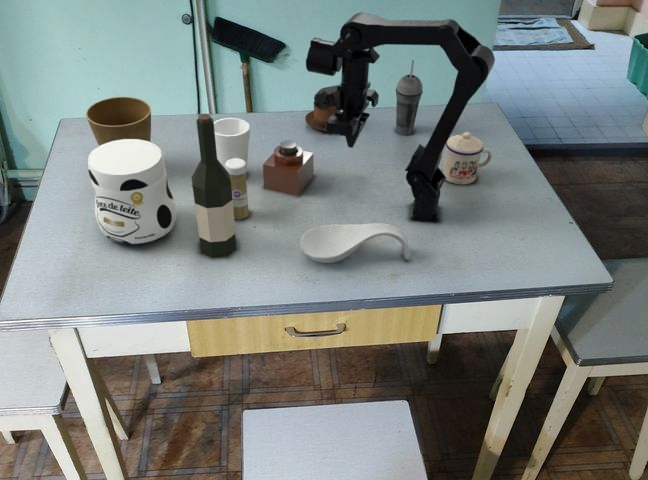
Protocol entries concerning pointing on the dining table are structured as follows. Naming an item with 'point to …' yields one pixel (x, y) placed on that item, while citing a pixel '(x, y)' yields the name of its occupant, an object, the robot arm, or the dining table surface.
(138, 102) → the plant pot
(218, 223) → the wine bottle
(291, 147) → the dark grey short cylinder
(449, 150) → the teacup with lid
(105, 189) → the milk container
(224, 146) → the foam cup
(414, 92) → the beverage cup
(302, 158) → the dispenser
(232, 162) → the sprinkles bottle
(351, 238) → the spoon rest
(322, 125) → the cup and saucer
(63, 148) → the dining table surface
